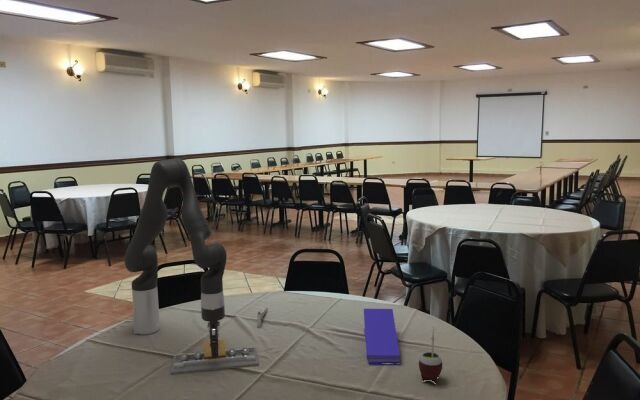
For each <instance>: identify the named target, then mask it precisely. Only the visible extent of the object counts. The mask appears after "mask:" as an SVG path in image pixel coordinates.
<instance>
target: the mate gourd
mask: <svg viewBox="0 0 640 400" xmlns="http://www.w3.org/2000/svg"><path fill="white" fill-rule="evenodd" d="M434 331H435V327H434V326H432V328H431V339H430V340H431V352H429V351H428V352H423V353H422V354H421V356H420V357H419V361H418V368H419V372H420V376H421V381H422V380H423V381H424V380H432V381H434V382H435V383H437V380H438V379H437V377H440V375H441V373H442V370H443V361H442V359H441V356H440V355H439V354H438V353H435V352H434V349H435V348H434V345H435V344H434V343H435V342H434V341H435V334H434V333H435V332H434Z"/></svg>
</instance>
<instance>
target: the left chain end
mask: <svg viewBox="0 0 640 400" xmlns="http://www.w3.org/2000/svg"><path fill="white" fill-rule="evenodd" d="M175 356H176V359H181V363H174V369H178V368H184V367H187V366H197V365H207V364H215V358H212V359H202V358H204V351H197V352H193V353H184V352H183V353H176V354H175ZM194 358H195V360H192V361H188V359H194Z"/></svg>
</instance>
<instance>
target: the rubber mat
mask: <svg viewBox="0 0 640 400" xmlns="http://www.w3.org/2000/svg"><path fill="white" fill-rule="evenodd" d="M253 355H255V361H247V362H246V361H236V362H226V363H216V364H207V365H197V366H187V367H184V368H178V369H174V363H181V359H176V355H173V357H172V363H171V368H170V376H172V375H180V374H190V373H200V372H209V371H218V370H230V369H236V368H237V369H238V368H248V367H256V366H257V367H258V366H259V365H260V362H259V356H258V351H257V347H254V352H249V356H253ZM236 356H242V354H236ZM226 357H228V355H226ZM202 359H204V358H202ZM192 360H195V358H194V359H188V361H192Z"/></svg>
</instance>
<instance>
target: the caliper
mask: <svg viewBox="0 0 640 400" xmlns="http://www.w3.org/2000/svg"><path fill="white" fill-rule="evenodd" d="M268 309H269V308H268V307H266V306H265V307H264V308H263V309H262V311H261V310H260V311H259V310H258V311H257V323H256V324H257V328H261V327H262V320H263V318H264V316H265V314H266V313H267V312H268Z"/></svg>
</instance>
